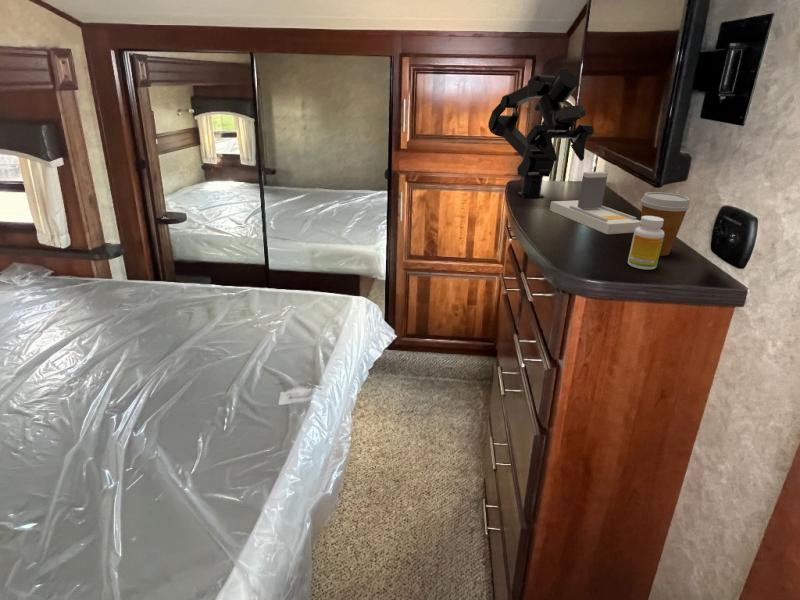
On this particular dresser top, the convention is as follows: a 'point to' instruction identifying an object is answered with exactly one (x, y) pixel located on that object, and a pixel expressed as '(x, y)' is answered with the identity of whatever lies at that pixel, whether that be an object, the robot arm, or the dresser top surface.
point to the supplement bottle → (646, 243)
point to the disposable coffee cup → (666, 214)
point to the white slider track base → (597, 217)
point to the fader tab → (592, 190)
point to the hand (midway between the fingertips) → (569, 160)
